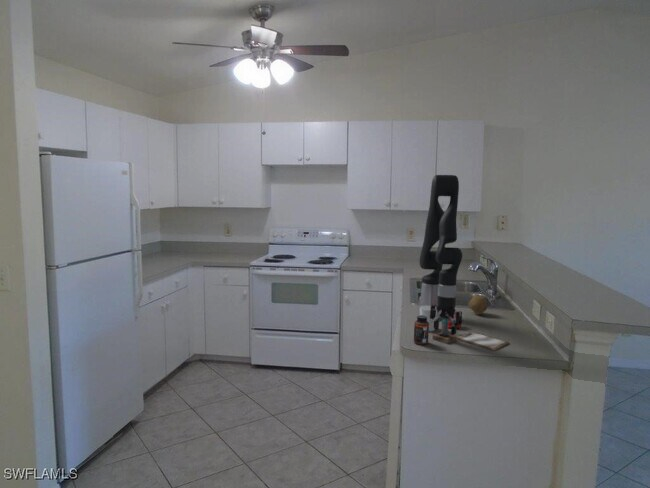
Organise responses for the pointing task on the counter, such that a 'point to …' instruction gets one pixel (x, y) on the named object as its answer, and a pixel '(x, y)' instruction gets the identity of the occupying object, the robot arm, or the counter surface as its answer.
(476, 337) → the clipboard
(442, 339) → the marker stand
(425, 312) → the white cup
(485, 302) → the natural sponge
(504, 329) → the counter surface
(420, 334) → the supplement bottle
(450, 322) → the cap
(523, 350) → the counter surface
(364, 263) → the counter surface
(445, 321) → the marker
